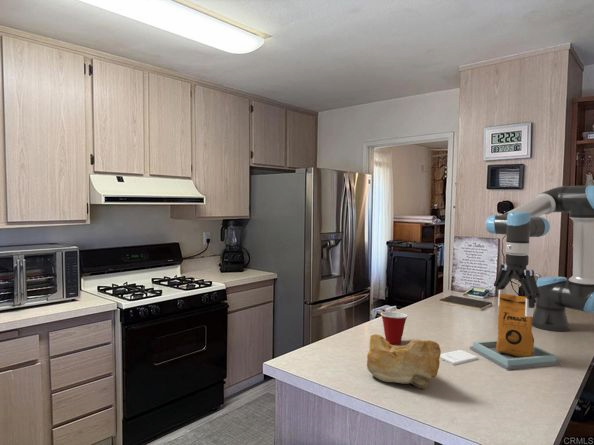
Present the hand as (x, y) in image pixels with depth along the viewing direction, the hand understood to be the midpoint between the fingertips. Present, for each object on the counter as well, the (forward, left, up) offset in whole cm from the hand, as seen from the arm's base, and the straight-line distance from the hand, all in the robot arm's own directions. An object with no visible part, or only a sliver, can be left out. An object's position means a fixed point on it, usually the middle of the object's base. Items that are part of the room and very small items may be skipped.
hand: (514, 311), depth 151 cm
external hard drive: (+22, -3, -18) cm, 28 cm away
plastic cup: (+37, -23, -17) cm, 47 cm away
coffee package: (0, 0, -16) cm, 16 cm away
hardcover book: (-31, -72, -18) cm, 80 cm away
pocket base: (0, 0, -17) cm, 17 cm away
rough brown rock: (+48, +9, -17) cm, 52 cm away
